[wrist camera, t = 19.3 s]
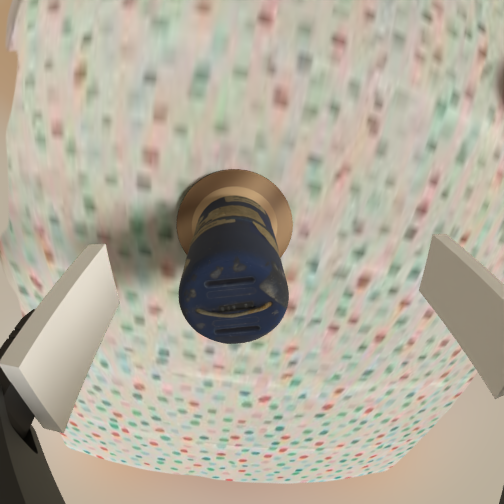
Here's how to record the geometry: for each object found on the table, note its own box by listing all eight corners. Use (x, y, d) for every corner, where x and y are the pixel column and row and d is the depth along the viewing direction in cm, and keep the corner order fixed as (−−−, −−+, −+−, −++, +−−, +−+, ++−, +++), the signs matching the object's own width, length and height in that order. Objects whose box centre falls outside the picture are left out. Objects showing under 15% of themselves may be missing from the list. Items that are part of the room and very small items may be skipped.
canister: (201, 187, 39) (175, 254, 22) (278, 197, 40) (305, 270, 23) (194, 256, 43) (172, 350, 27) (264, 264, 44) (278, 361, 28)
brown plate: (155, 222, 41) (153, 224, 40) (239, 144, 37) (239, 145, 36) (231, 293, 47) (231, 296, 46) (313, 230, 43) (315, 232, 42)
